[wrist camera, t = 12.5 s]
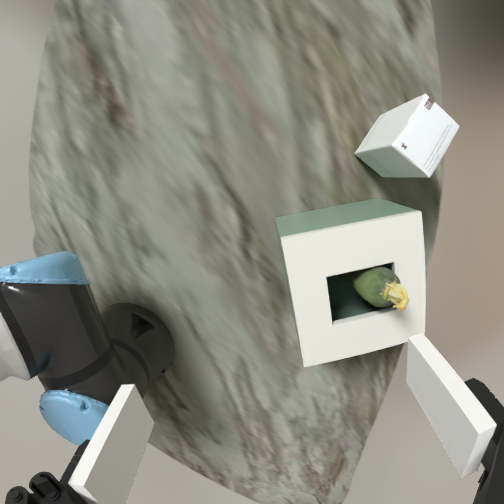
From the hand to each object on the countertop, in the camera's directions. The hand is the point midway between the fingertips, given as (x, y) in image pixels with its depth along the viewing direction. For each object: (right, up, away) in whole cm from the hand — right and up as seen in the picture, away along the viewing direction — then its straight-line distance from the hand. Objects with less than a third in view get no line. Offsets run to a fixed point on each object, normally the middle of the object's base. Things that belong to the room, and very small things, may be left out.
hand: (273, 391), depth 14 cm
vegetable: (+11, +5, +33) cm, 35 cm away
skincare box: (+18, +22, +30) cm, 41 cm away
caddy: (+12, +5, +34) cm, 37 cm away
